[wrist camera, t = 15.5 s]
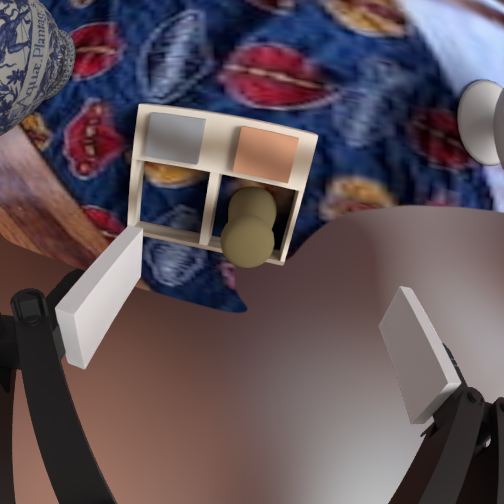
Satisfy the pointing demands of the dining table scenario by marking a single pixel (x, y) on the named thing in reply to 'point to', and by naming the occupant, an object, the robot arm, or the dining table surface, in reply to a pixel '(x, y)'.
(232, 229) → the cork
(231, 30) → the dining table surface
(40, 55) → the decorative vase
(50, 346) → the robot arm
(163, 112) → the socket board
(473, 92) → the chalice
